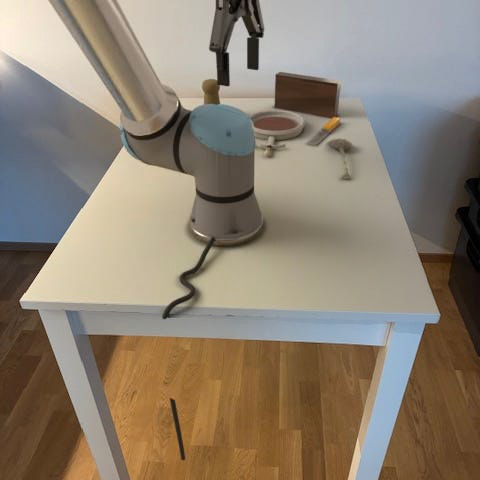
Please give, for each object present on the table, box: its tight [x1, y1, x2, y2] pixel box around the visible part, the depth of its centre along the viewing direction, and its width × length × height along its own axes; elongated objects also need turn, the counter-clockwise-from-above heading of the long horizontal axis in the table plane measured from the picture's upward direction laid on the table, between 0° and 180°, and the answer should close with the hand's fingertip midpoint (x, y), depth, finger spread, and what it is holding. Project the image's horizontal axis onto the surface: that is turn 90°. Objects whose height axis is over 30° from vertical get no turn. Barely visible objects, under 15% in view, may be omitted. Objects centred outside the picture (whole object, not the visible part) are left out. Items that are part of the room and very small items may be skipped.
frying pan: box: [249, 109, 306, 158], centre depth 136 cm, size 17×3×28 cm
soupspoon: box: [327, 137, 353, 180], centre depth 124 cm, size 22×3×7 cm
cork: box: [201, 78, 221, 105], centre depth 144 cm, size 6×6×11 cm
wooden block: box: [274, 71, 342, 119], centre depth 148 cm, size 3×20×10 cm, turn 60°
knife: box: [308, 116, 341, 147], centre depth 137 cm, size 18×2×2 cm, turn 151°
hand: (238, 77), depth 111 cm, fingers open, 13 cm apart
